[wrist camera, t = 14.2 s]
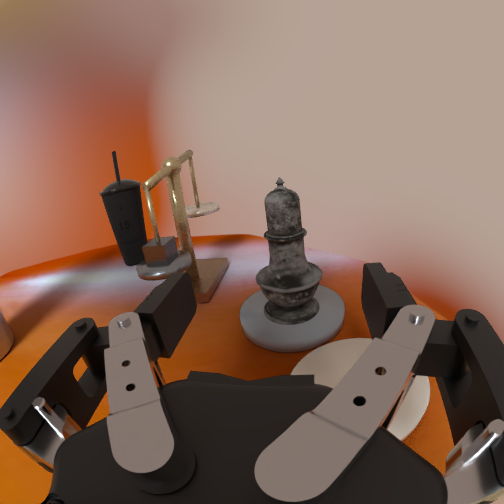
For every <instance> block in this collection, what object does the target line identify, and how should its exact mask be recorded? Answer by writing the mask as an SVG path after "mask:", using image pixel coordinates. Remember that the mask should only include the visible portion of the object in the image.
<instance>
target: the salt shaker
mask: <svg viewBox="0 0 504 504" xmlns="http://www.w3.org/2000/svg"><path fill="white" fill-rule="evenodd" d="M283 183H284V182H283V181H282V179H281V178H278V180H277V182H276V184H277V185H278V186H277V188H276V189H275V190H274V191H271V192H270V193H269V194H267V196H266V198H265V210H266V219H267V227H268V231H267V232H265V233H264V237H265V238H266V239H267V240H268V243H269V252H270V262H269V266H266V267H264V268H263V269H262V270H260V271H259V273H258V274H257V276H256V281H257V284H258V285H259V286H260V287H261V290H262V292H263V294H264V295H265V297H266V298H267V299H268V300H269V301H268V302H267V303H266V304H265V306H264V314H265V316H266V317H267V319H269V320H270V321H272V322H275V323H278V324H283V325H295V324H300V323H304V322H306V321H309V320H310V319H312V318H313V317H315V316H316V314H317V313H318V311H319V303H318V301H317V300H316V299H315V298H314V297H313V296H314V295H315V292H316V290H317V288H318V285H319V281H320V280H321V278H322V270H321V269H320V268H319V267H318V266H316V265H315V264H312V263H309V262H307V260H306V257H305V253H304V240H303V239H304V238H303V237H304V236H305V235H306V234H307V231H306V230H305V229H304V228H302V224H301V212H300V202H299V197H298V195H297V193H296V192H294V191H292V190H289V189H287V188H286V187H283Z"/></svg>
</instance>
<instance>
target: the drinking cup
mask: <svg viewBox="0 0 504 504" xmlns="http://www.w3.org/2000/svg"><path fill="white" fill-rule="evenodd" d="M112 156H113V162H114V168H115V174H116V179H117V181H115V182H113V183H111V184H109V185H108V186H107V187H106V188H105V189H104V190H103V191H102V192H100V196H102V199H103V202H104V206H105V209H106V212H107V215H108V218H109V221H110V224H111V226H112V229H113V232H114V235H115V237H116V240H117V243H118V246H119V248H120V251H121V254H122V256H123V259H124V261H125V264H126V265H130V266H131V265H137V264H139V263H140V262H141V261H143V260H144V259H145V257H144V254H143V250H142V247H143V246H144V245H145V244H147V237H146V231H145V224H144V217H143V210H142V201H141V192H140V185H141V182H137V181H135V180H130V179H122V180H120V175H119V169H118V163H117V157H116V152H115V151H114V152H112Z"/></svg>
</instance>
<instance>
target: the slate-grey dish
mask: <svg viewBox="0 0 504 504" xmlns="http://www.w3.org/2000/svg"><path fill="white" fill-rule="evenodd" d="M313 297H314V298H315V299H316V300H317V301H318V303H319V311H318V313H317V314H316V316H315V317H313V318H312V319H310V320H309V321H306V322H304V323H300V324H295V325H283V324H278V323H275V322H272V321H270V320H269V319H267V317H266V316H265V314H264V306H265V304H266V303H267V302H268V301H269V300H268V299H267V298H266V297H265V295H264V294H263V292H262V290H259V291H257V292H256V293H254V294H252V295H251V296H250V297H249V298H247V300H246V301H245V302H244V303H243V305H242V307H241V309H240V321H241V326H242V330H243V332H244V334H245V336H246V337H247V338H248V339H249V340H250V341H251V342H253V343H254V344H256V345H258V346H260V347H262V348H264V349H267V350H271V351H276V352H301V351H307V350H310V349H314V348H317V347H319V346H322V345H323V344H325V343H327V342H329V341H330V340H332V339H333V338H334V337H335V336H336V335H337V334H338V333H339V332H340V330H341V328H342V326H343V323H344V313H345V306H344V302H343V300H342V298H341V297H340V296H339V295H338V294H337V293H336V292H335V291H333V290H331V289H329V288H327V287H325V286H322V285H318V288H317V290H316V292H315V295H314V296H313Z"/></svg>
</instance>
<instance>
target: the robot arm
mask: <svg viewBox="0 0 504 504" xmlns="http://www.w3.org/2000/svg"><path fill="white" fill-rule="evenodd" d="M361 299H362V308H363V311H364V314H365V317H366V320H367V324H368V327H369V330H370V333H371V337H372V342H371V343H370V344H369V346H368V347H367V348H366V350H365V351H364V352H363V353H362V355H361V356H360V357H359V359H358V360H357V361H356V362H355V364H354V365H353V366H352V367H351V369H350V370H349V371H348V372H347V373H346V375H345V376H344V377H343V378H342V379H341V381H340V382H339V383H338V384H337V385H336V386H335V388H334V389H333V388H331V387H328V386H324V385H320V384H315V383H314V374H312V375H281V376H275V377H270V378H264V379H258V380H252V381H246V380H242V379H238V378H234V377H230V376H227V375H223V374H220V373H209V372H198V371H190V373H189V375H188V378H187V379H184V380H178V381H174V382H171V383H168V384H166V382H165V379H164V377H163V374H162V371H161V368H160V365H159V363H158V361H157V360H158V358H159V357H162V358H170V357H171V355H172V354H173V352H174V350H175V348H176V346H177V345H178V343H179V341H180V339H181V338H182V336H183V334H184V332H185V330H186V329H187V327H188V325H189V323H190V322H191V320H192V318H193V316H194V315H195V313H196V308H197V304H196V298H195V294H194V290H193V286H192V282H191V278H190V275H189V274H188V273H187V272H179V273H171V274H170V276H169V277H168V278H167V279H166V280H165V281H164V282H163V283H162V284H160V285H159V286H157V287H155V288H154V289H153V291H152V292H151V293H150V295H148V296H147V297H146V300H144V301H143V302H142V303H141V304H140V305H139V306H138V308H137V309H136V310H135V311H134V312H126V313H122V314H120V315H117V316H116V317H114V318H113V319H112V320H111V321H110V323H109V326H107V327H99V328H97V326H96V324H95V322H94V320H93V319H92V318H83V319H80V320H78V321H76V322H74V323H73V324H72V325H71V326H70V327H69V328H68V329H67V330H66V331H65V332H64V333H63V334H62V335H61V336H60V338H59V339H58V340H57V341H56V342H55V343H54V344H53V345H52V346H51V347H50V349H49V350H48V351H47V352H46V353H45V354H44V355H43V357H42V358H41V359H40V360H39V361H38V362H37V364H36V365H35V366H34V367H33V368H32V369H31V371H30V372H29V373H28V374H27V375H26V377H25V378H24V379H23V380H22V382H21V383H20V384H19V385H18V387H17V388H16V389H15V390H14V392H13V393H12V394H11V396H10V397H9V398H8V399H7V401H6V402H5V403H4V405H3V406H2V407H1V409H0V429H1V430H2V431H3V432H4V433H5V434H6V435H7V436H8V437H9V438H10V439H11V440H12V441H13V443H14V444H15V445H16V446H17V447H18V448H19V449H21V450H22V451H23V452H24V453H25V454H26V455H27V456H28V457H30V458H31V459H32V460H33V461H35V462H37V463H38V464H39V465H40V466H42V467H43V468H44V469H46V470H47V471H48V472H51V473H53V477H52V483H51V487H50V491H49V494H48V496H47V498H46V499H45V500H44V501H43V502H42V503H41V504H490V503H492V502H493V501H495V500H497V499H498V498H500V497H501V496H503V495H504V345H503V343H502V341H501V340H500V338H499V337H498V335H497V334H496V332H495V331H494V329H493V328H492V326H491V325H490V323H489V322H488V320H487V319H486V318H485V316H484V315H483V314H481V313H480V312H478V311H476V310H472V309H463V310H460V311H459V312H457V314H456V316H455V319H454V321H446V320H437V319H435V315H434V313H433V312H432V311H431V310H430V309H428V308H427V307H424V306H421V305H417V303H416V302H415V300H414V299H413V297H412V295H411V294H410V292H409V291H408V290H407V288H406V286H405V285H404V283H403V281H402V280H401V278H400V277H398V276H397V275H395V274H394V273H387V272H386V270H385V268H384V267H383V265H382V264H381V263H366V264H364V267H363V281H362V296H361ZM13 342H14V335H13V333H12V331H11V329H10V328H9V326H8V324H7V322H6V320H5V318H4V316H3V314H2V311H1V309H0V360H1V359H2V358H3V357H4V356H5V355H6V354H7V353H8V351H9V350H10V348H11V346H12V345H13ZM81 356H82V358H83V360H84V362H85V363H86V365H87V367H88V368H87V369H86V371H85V372H84V374H83V375H82V376H81V378H80V379H79V381H78V382H77V380H76V379H75V377H74V375H73V368H74V366H75V364H76V363H77V362H78V360H79V359H80V358H81ZM469 368H470V369H469ZM417 375H418V376H430V377H436V381H437V384H438V387H439V390H440V393H441V396H442V400H443V403H444V406H445V410H446V414H447V417H448V421H449V425H450V429H451V433H452V437H453V442H454V447H453V449H452V450H451V451H450V452H449V454H448V456H447V459H446V471H445V474H444V477H443V476H442V474H441V473H440V472H439V470H438V469H437V468H435V467H434V466H433V465H432V464H430V463H429V462H428V461H426V460H425V459H424V458H422V457H421V456H420V455H419V454H417V453H416V452H415V451H413V450H412V449H411V448H410V447H408V446H407V445H406V444H404V443H403V442H402V441H401V440H399V439H398V438H397V437H396V436H394V435H393V434H392V433H391V432H389V431H388V428H389V427H390V425H391V423H392V421H393V419H394V418H395V416H396V414H397V412H398V410H399V408H400V407H401V405H402V403H403V401H404V399H405V397H406V396H407V394H408V392H409V390H410V388H411V386H412V384H413V382H414V380H415V378H416V376H417ZM106 392H107V393H108V401H109V408H110V414H109V415H108V416H107V417H106V418H104V419H102V420H100V421H98V422H96V423H94V424H92V425H90V426H88V427H86V426H87V424H88V422H89V421H90V419H91V417H92V415H93V414H94V412H95V410H96V408H97V407H98V405H99V403H100V402H101V400H102V398H103V397H104V395H105V393H106Z"/></svg>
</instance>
